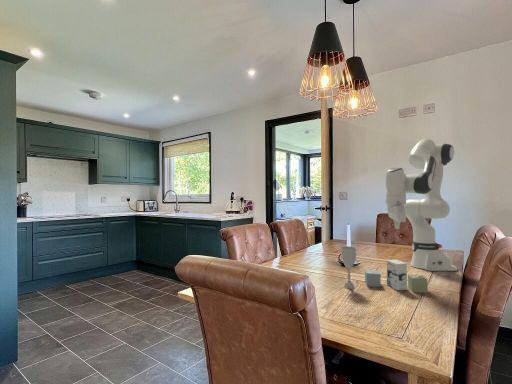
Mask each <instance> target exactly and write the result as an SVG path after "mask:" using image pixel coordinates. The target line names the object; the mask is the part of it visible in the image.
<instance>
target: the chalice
mask: <svg viewBox="0 0 512 384" xmlns="http://www.w3.org/2000/svg"><path fill="white" fill-rule="evenodd" d="M340 249H341V260H342V262H343V264H344V266H345V268H347V276H346V277H347V280H346V281H345V282H344V284H343V288H345V289H347V290H348V289H349V290H354V289H355V288H356V286H355V284H354V282H353V281H351V277H352V276H351V273H352V272H351V269H352V268H353V267H354V265H355V262H356V260H357V249H358V248H357V247H355V246H340Z"/></svg>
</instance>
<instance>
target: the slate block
mask: <svg viewBox="0 0 512 384" xmlns="http://www.w3.org/2000/svg"><path fill="white" fill-rule="evenodd" d="M381 277H382V275H381V272H380V271H379V270H375V269H374V270H371V269H364V283H365V285H366V287H375V288H382V287H381V285H382V284H381V283H382V282H381V281H382V280H381V279H382V278H381Z"/></svg>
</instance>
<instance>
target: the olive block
mask: <svg viewBox="0 0 512 384" xmlns="http://www.w3.org/2000/svg"><path fill="white" fill-rule="evenodd" d="M407 289H409V290H410V291H411V292H412V293H424V294H427V293H428V278H427V277H426V276H424V275H423V274H407Z"/></svg>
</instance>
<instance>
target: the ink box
mask: <svg viewBox="0 0 512 384" xmlns="http://www.w3.org/2000/svg"><path fill="white" fill-rule="evenodd" d="M407 265H408V264H407V263H406V262H403V261H401V260H399V259H387V260H386V285H387V286H389V287H390V288H392V289H394V290H395V291H407V290H408V274H407V273H408V272H407V269H408V268H407Z"/></svg>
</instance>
